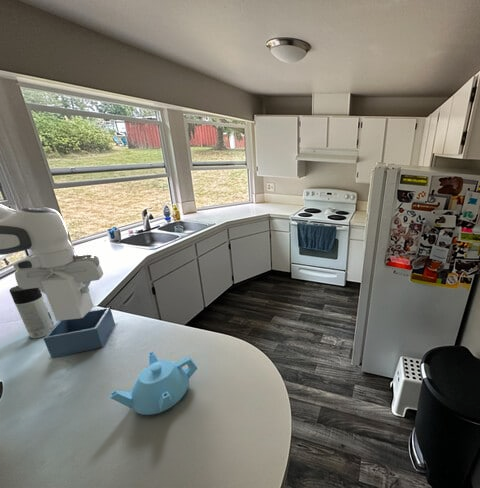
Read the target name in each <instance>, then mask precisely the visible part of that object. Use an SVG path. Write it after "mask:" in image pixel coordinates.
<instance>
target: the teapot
mask: <svg viewBox="0 0 480 488" xmlns="http://www.w3.org/2000/svg"><path fill="white" fill-rule="evenodd" d="M148 357H149V363H148V364H149V365H147V366H145V368H143V369H142V370H141V372H140V373H139V374H138V376H137V378H136V380H135V382H134V383H133V386H132V388H131V390H130V391H123V390H118V389H116V390H114V391H113V392H111V393H110V394H109V397H110V399H112V400H114V401H116V402H118V403H119V404H121V405H123V406H125V407H127V408H129V409H132V410H133V411H134V412H135V413H137V414H139V415H144V416H150V415H157V414H160V413H163V412H165V411H167V410H169V409H171V408H172V407H174V406H175V405H176V404H177V403H178V402H180V400H181V399H182V398H183V397H184V396H185V394H186V393H187V390H188V388H189V386H190V379H191V377H192V376H193V375H194V373H195V372H196V371H197V370H198V365H197V364H196V362H195V361H194V360H193V359H192V357H191V356H190V355H187V356H185V357H183V358H181V359H180V360H178V361H176V362H175V361H173V360H169V359H163V360H162V359H161V360H159V359H158V357H157V355H156V353H155V352H154V351H151V352H149V353H148ZM186 365H187V368H186V369H184V367H185V366H186Z"/></svg>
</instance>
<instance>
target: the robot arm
mask: <svg viewBox="0 0 480 488" xmlns="http://www.w3.org/2000/svg"><path fill="white" fill-rule="evenodd" d="M27 250H29V251H31V254H29V255H27V256H25V257H22V258H20V259H18V260H17V261H15V262H14V263H13V264H12V267H13V268H14V269H15V272H14V277H15V281H16V284H17V286H19V287H20V288H22V289H32V288H39V290H40V291H41V293H42V294H44V295H46V293H45V290H44V288H43V285H42V283H41V281H42V280H44V279H45V278H46V277H47V276H48V275H49V274H50V273H51V270H50V269H52V270H53V271H55V270H59V271H62V272H64V273H66V274H68V275H71V276H73V277H74V280H75V283H79V282H83V285H85V284H86V285H85V287H83V288H82V289H81V291H82V294H83V293H88V292H89V293H90V284H91V283H92V282H95V281H99V280H100V279H102V277H103V275H104V271H103V269H102V266H101V265H100V260H99V257H98V256H96V255H94V254H92V253H89V254H88V253H87V254H76V253H75V250H74V247H73V244H72V243H71V242H70V240H69V232H68V229H67V226H66V224H65V222H64V220H63V217H62V216H61V214H60V213H59V212H58V211H57V210H56V209H53V208H50V207H45V206H28V207H22V208H20V209H19V210H16V209H13V208H11V207H8V206H7V205H6V206H5V205H3V204H1V203H0V255H1V256H5V255H10V254H15V253H19V252H23V251H27ZM53 277H60V276H59V275H57V274H55V273H54V274H52V275H51V276H50V277H48V278H53Z"/></svg>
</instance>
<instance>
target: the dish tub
mask: <svg viewBox="0 0 480 488" xmlns="http://www.w3.org/2000/svg"><path fill="white" fill-rule="evenodd" d="M54 325H55V326H54V327H53V328H52V329H51V330H50V332H49V333H48V334H47V335H46V336H44V337H42V338H43V342H44V344H45V346H46V348H47V349H46V350H47V351H48V353H49V355H50V358H58V357H63V356H67V355H71V354H78V353H82V352H86V351H91V350H96V349H101V348H103V347H104V345H105V344H106V342H107V340H108V338H109V336H110V335H111V333H112V331H113V330H114V328H115V325H116V322H115V319H114V316H113V312H112V309H111V307H105V308H104V307H103V308H99V309H91V310H90V311H89V312H88V313H87V314H86V315H85V316H84V317H83V318H79V319H70V320H61V321H57V322H56V324H54Z"/></svg>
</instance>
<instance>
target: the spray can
mask: <svg viewBox="0 0 480 488" xmlns="http://www.w3.org/2000/svg"><path fill="white" fill-rule="evenodd" d="M9 294H10V296H11V298H12V301H13V303H14V305H15V307H16V310H17V312H18V313H19V317H20V319H21V321H22V323H23V325H24V327H25V329H26V332H27V334H28V335H29V337H30V338H31V339H41V338H44V337H45V336H46V335H47V334H48V333H49V332H50V330H51V329H52V328H53V327H54V326H55V325H56V324H55V323H54V320H53V317H52V316H51V314H50V313H51V312H50V310H49V308H48V306H47V303H46V301H45V298H44V295H43V292H41V291H40V290H39V288H32V289H22V288H20V287H19V286H18V285H15V286H12V287H11V288H9Z"/></svg>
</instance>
